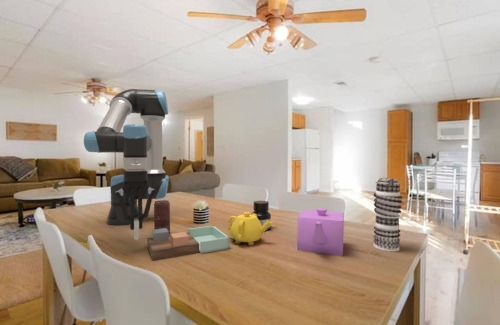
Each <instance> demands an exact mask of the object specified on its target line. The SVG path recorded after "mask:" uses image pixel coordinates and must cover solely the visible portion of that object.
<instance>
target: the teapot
mask: <svg viewBox="0 0 500 325" xmlns="http://www.w3.org/2000/svg"><path fill="white" fill-rule="evenodd" d="M252 213H253V212H252ZM252 213H251V212H249V211H244V212H243V214H239V215H237V216H236V215H232V216H230V217H229V218H228V225H229V226H228V227H227V230H226V231H228V233H229V234H230V236H231V238H232V239H233V240H235V241H234V244H241V243H247V244H248V245H249V246H254V245H255V244H254V243H255V242H256V241H260V238H262V236H263V235H264V233H265V231H267V230H266V229H267V228H268V227H269V226H270V225H271V226H272V224H273V222H272V220H271V221H270V220H267V221H266V223H265V224H264V225H263V226H262V225H261V223H260V221H259V220H258V218H257V214H254V213H253V214H252ZM251 214H252V215H251ZM232 219H234V220H233V222H232Z"/></svg>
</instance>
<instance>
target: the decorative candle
mask: <svg viewBox="0 0 500 325" xmlns="http://www.w3.org/2000/svg"><path fill="white" fill-rule="evenodd" d="M375 183H376V187H375V188H376V190H375V192H374V193H373V196H374V197H375V198H374V199H373V202H374V203H373V206H374V209H373V211H374V215H375V221H374V227H373V229H374V231H373V233H374V235H373V247H374V248H376V249H378V250H381V251H383V252H398V251H400V246H401V243H400V241H401V239H400V237H401V234H400V233H401V229H400V218H401V215H400V214H401V213H402V210H401V209H402V206H401V205H400V204H402V203H403V201H402V200H401V199H403V196H402V195H401V191H400V190H401V189H400V188H401V184H402V183H401V182H399V181H398V179H397V178H391V177H381V178H378V180H377V181H375Z"/></svg>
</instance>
